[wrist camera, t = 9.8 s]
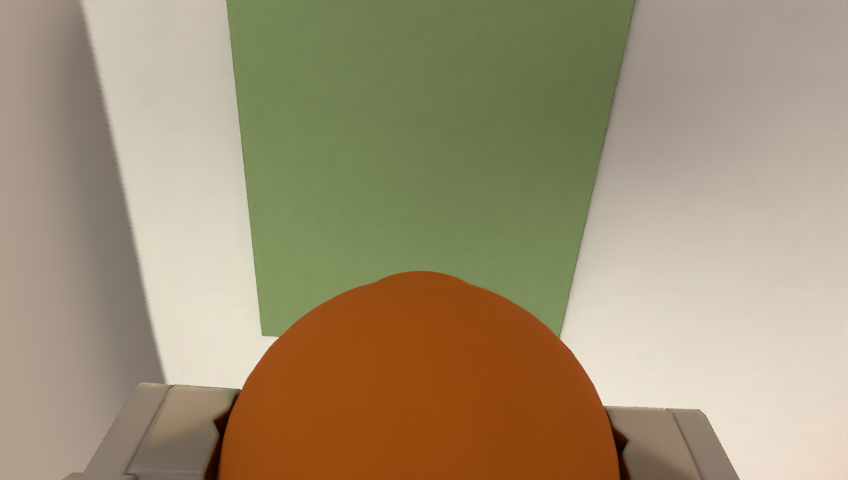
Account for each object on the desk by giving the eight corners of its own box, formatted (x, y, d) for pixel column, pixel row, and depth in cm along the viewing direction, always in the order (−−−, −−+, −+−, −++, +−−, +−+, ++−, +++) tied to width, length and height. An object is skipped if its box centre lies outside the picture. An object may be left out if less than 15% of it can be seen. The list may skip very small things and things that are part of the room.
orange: (208, 310, 11) (27, 662, 6) (457, 139, 9) (489, 435, 4) (395, 472, 13) (376, 824, 8) (624, 359, 12) (770, 719, 7)
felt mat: (206, -219, 15) (202, -221, 15) (673, -187, 16) (677, -188, 15) (263, 331, 25) (261, 336, 24) (555, 345, 25) (556, 350, 25)
